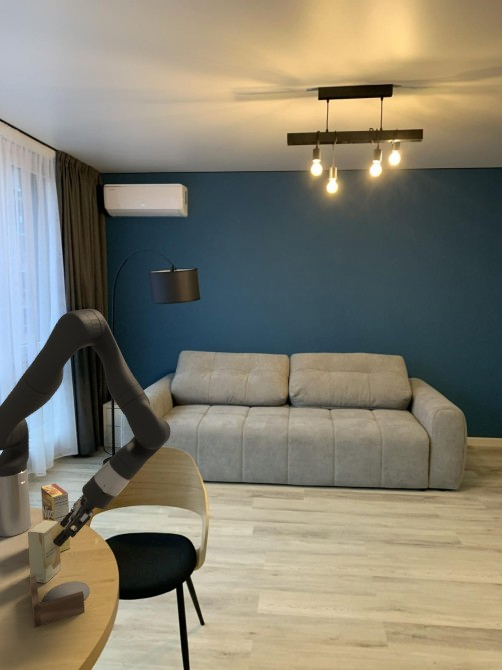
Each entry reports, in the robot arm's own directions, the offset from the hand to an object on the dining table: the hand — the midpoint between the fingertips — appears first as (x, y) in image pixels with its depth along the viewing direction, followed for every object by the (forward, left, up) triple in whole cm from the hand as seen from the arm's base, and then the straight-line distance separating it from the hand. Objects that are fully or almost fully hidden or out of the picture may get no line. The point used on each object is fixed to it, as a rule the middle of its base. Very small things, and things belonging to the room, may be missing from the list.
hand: (59, 534), depth 116 cm
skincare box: (0, -3, -10) cm, 10 cm away
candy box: (-14, -3, -10) cm, 17 cm away
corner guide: (+12, +1, -10) cm, 15 cm away
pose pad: (+10, +3, -10) cm, 14 cm away
